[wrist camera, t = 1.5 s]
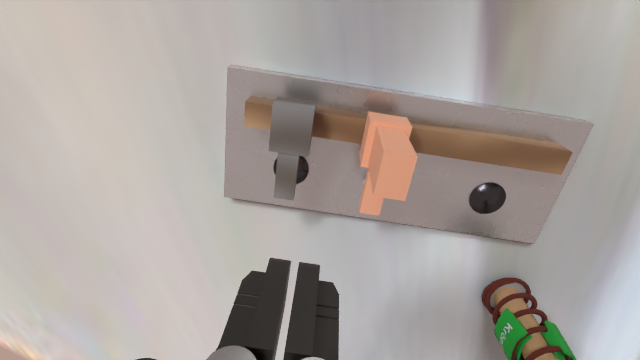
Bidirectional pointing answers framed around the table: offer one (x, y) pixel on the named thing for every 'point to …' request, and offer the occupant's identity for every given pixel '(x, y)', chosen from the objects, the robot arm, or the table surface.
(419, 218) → the hole plate
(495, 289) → the shock absorber
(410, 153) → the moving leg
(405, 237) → the table surface
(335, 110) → the beam
